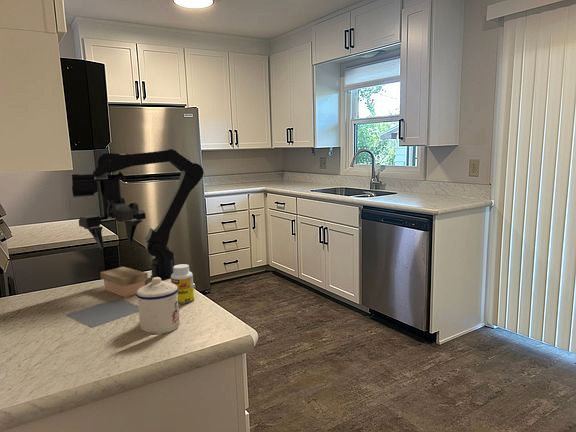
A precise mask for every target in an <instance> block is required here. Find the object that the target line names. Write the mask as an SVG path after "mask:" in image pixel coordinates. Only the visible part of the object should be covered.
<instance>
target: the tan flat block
mask: <svg viewBox="0 0 576 432" xmlns="http://www.w3.org/2000/svg"><path fill="white" fill-rule="evenodd" d="M99 273H100V279H101V280H103V281H104V280H106V281H109V282H112V283H115V284H118V285H121V286H124V287H125V286H128V285H132V284H135V283H139V282H142V281H145V282H146V281H148V280H149V277H148V272H146V271H142V270H137V269H133V268H131V267H126V266H119V267H117V268H112V269H108V270H103V271H100V272H99Z"/></svg>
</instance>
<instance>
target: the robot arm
mask: <svg viewBox="0 0 576 432" xmlns="http://www.w3.org/2000/svg"><path fill="white" fill-rule="evenodd" d="M168 162H169V163H170V164H171V165H172V166H173V167H174V168H176V169H177V170H178V171H180V174H179V175H180V176H179V181H178V185H177V188H176V190H175V192H174V194H173V196H172V197H171V199H170V202H169V203H168V205H167V207H166V210H165V212H164V214H163V215H162V217H161V219H160V222H159V223H158V225H157V226H155V228H154V229H153V228H152V227H149V230H148V233H147V235H146V236H145V237H143V238H144V241H145V242H144V247H145V249H146V251H147V252H148V254H149V255H150V256H152V257H154V258H152V259H151V265H150V270H151V275H150V278H151V279H152V278H154V277H160V278H161V281H165V280H167V279H171V275H172V274H173V273H174V271H173V267H174V266H175V265H176V264H175V255H174V254H175V253H174V252H173V251H172V250H171V248H170V247H168V244H169V240H170V239H169V238H170V234H171V231H172V228H173V226H174V224H175V223H176V220H177V219H178V217H179V214H180V213H181V211H182V209H183V206H184V205H185V202H186V201H187V199H188V197H189V195H190V193H191V192H192V190H194V188H195V187H196V186H197V185H198V184H199V183H200V181H201V180H202V178H203V177H204V169H203V166H201V164H199V163H195V162H192V161H190V160H189V159H187V157H184V156H183V155H182V154H180V153H179V152H178V151H177V150H176V149H173V148H169V149H165V150H157V151H150V152H149V151H148V152H140V153H130V154H128V153H113V152H112V153H111V152H106V153H102V154H101V155H100V156H99V157H98V159H97V167H96V168H95V170H93V171H92V173H88V174H87V173H86V174H85V173H84V174H79V173H78V174H77V173H76V174H75V173H74V174H73V173H72V175H71V177H72V178H71V182H72V185H71V190H72V197H73V198H76V199H77V198H86V197H87V198H88V197H89V198H90V197H95V194H96V193H97V194H98V193H99V189H100V198H99V203H101V208H102V211H101V212H100V216H99V215H85V216H80V218H79V219H78V226H79V227H82V228H84V230H88V232H89V233H90V234H91V235H92V237H93V239H94V241H96V244H97V246H98V247H99V249H100V250H101V249H102V250H103V249H104V240H103V235H102V234H103V233H102V231H103V228H104V227H103V226H101V225H102V224H103V223H109V222H115V221H117V222H120V223H121V222H122V223H123V222H124V224H125V225H124V226H125V231H126V237H127V238H126V239H127V242H128V244H131V243H132V242H133V239H134V235H135V231H136V230H137V227H138V225H139V224H140V223H142V222H143V220H145V219H147V218H146V217H147V216H146V215H147V214H146V211H144V210H143V209H139V204H138V203H137V202H131V203H129V204H126V200H125V197H122V187H121V186H122V185H121V180H126V179H127V176H125V175H124V174H123V173H122V170H125V169H127V168H130V167H137V166H144V165H150V164H151V165H152V164H159V163H161V164H162V163H168ZM117 171H119V172H118V173H116V174H115V173H114V172H117ZM106 173H114V174H107V176H106V177H105V178H104V177H103V178H98V177H102V176H103V175H105V174H106ZM98 182H99V188H98Z"/></svg>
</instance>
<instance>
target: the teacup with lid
mask: <svg viewBox="0 0 576 432" xmlns="http://www.w3.org/2000/svg"><path fill="white" fill-rule="evenodd" d="M177 292H178V287H177V286H176V285H175V284H172V283H171V282H167V281H165V280H161V278H160V277H154V278H151V282H149V283H147V284H145V286H143V287H141V288H140V289H138V291H137V293H136V294H135V296H136V297H137V305H138V308H139V312H138V315H139V317H138V318H139V326H140V327H139V328H140V330H141V331H144V332H147V333H151V335H153V336H154V335H156V336H157V335H164V334H167V333H170V332H173V331H175V330H176V329H178V328H179V327H180V324H181V322H180V308H179V307H180V306H179V305H178V293H177Z"/></svg>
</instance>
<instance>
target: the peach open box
mask: <svg viewBox="0 0 576 432" xmlns="http://www.w3.org/2000/svg"><path fill="white" fill-rule="evenodd" d="M103 284H104V285H103V286H104V290H105V291H107V292H110V293H113V294H115V295H118V296H121V297H124V298H126V297H129V296H133V295H136V293H137V291H138V289H140V288H141V287H143V286H146V281H142V282H139V283H135V284H132V285H128V286H125V287H124V286H121V285H118V284H115V283H112V282H109V281H106V280H103Z"/></svg>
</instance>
